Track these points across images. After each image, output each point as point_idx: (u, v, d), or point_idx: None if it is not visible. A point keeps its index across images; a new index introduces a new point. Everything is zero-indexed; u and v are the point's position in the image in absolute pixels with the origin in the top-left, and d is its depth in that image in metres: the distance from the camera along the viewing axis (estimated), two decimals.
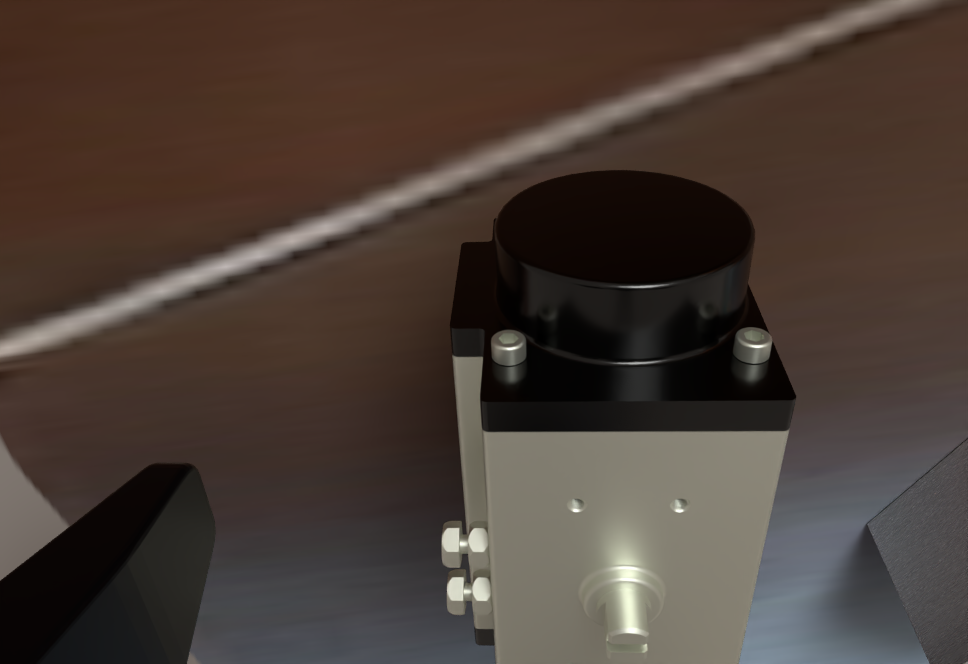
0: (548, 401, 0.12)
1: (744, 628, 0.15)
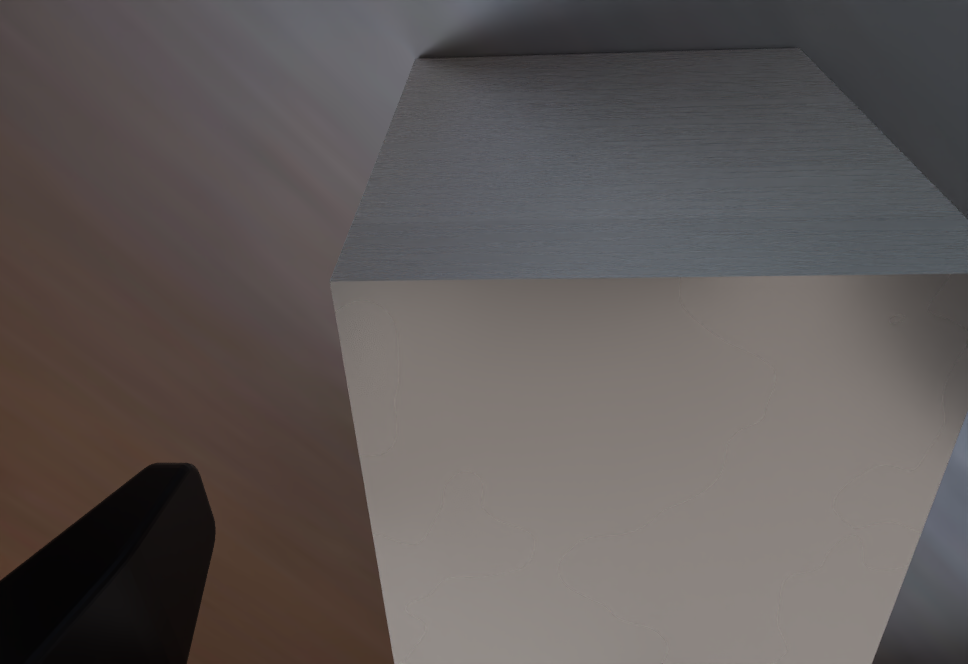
0: None
1: None
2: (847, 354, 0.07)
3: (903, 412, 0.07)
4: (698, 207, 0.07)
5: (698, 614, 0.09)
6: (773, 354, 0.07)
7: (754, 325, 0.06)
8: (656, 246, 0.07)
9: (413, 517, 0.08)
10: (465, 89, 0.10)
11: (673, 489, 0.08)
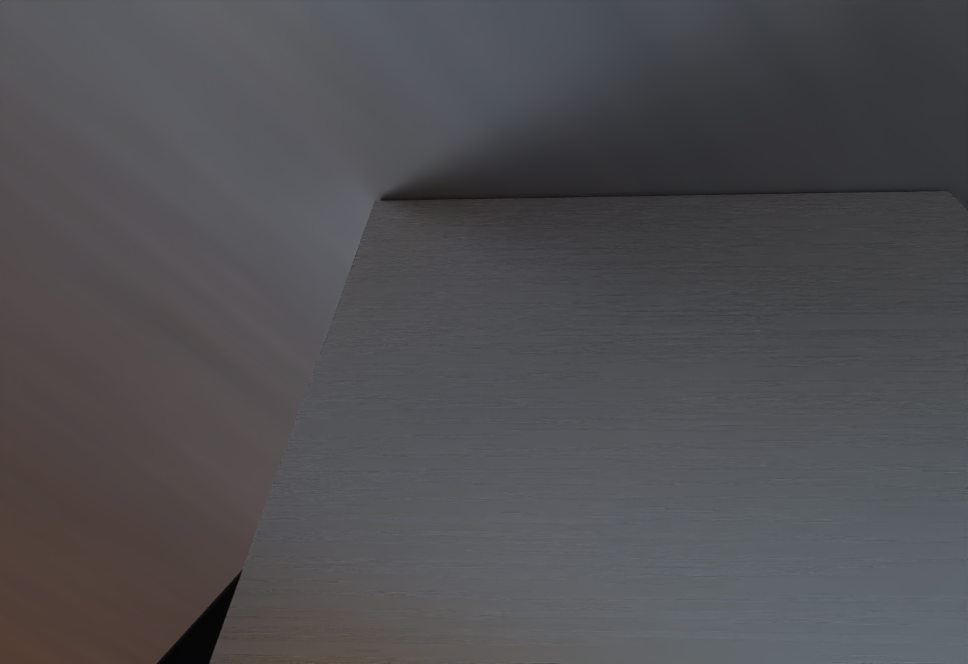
0: None
1: None
2: None
3: None
4: None
5: None
6: None
7: None
8: None
9: None
10: (444, 277, 0.06)
11: None
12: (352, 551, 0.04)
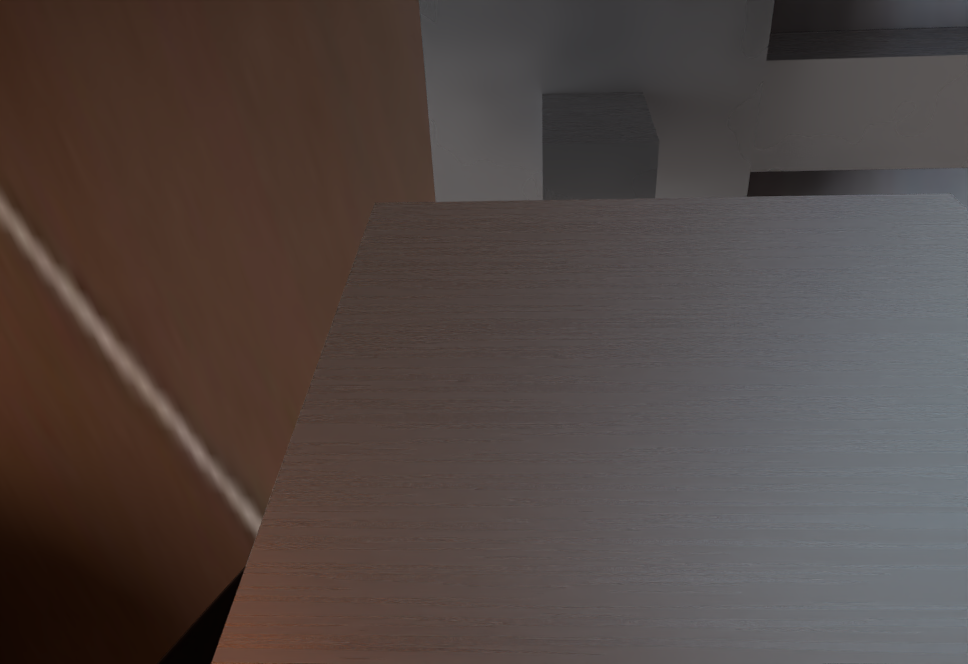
0: None
1: None
2: None
3: None
4: None
5: None
6: None
7: None
8: None
9: None
10: (445, 279, 0.06)
11: None
12: (352, 558, 0.04)
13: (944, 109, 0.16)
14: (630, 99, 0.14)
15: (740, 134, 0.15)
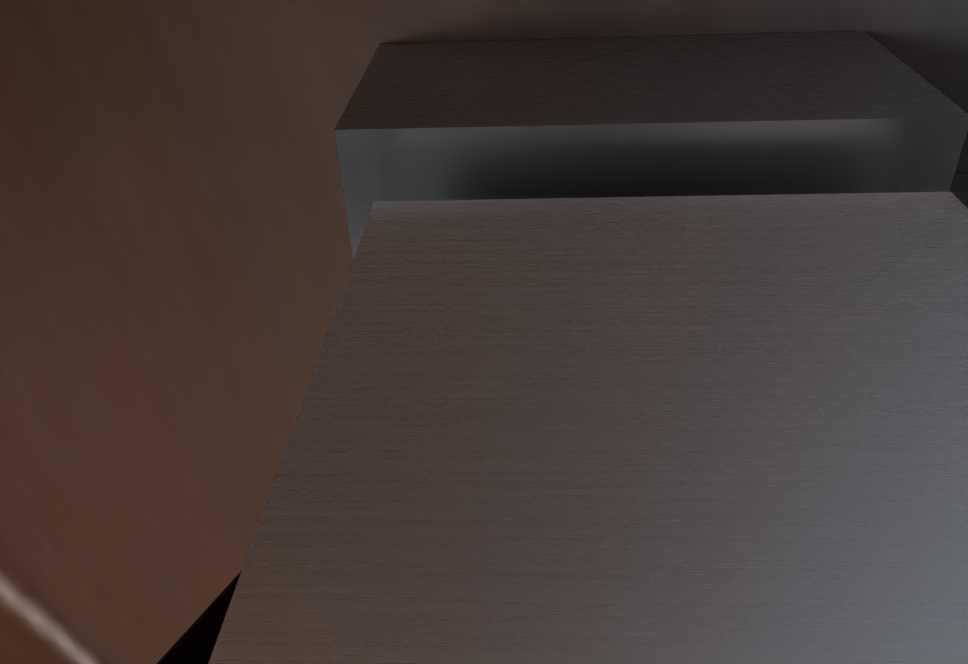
0: None
1: None
2: None
3: None
4: None
5: None
6: None
7: None
8: None
9: None
10: (444, 279, 0.06)
11: None
12: (351, 555, 0.04)
13: None
14: None
15: None
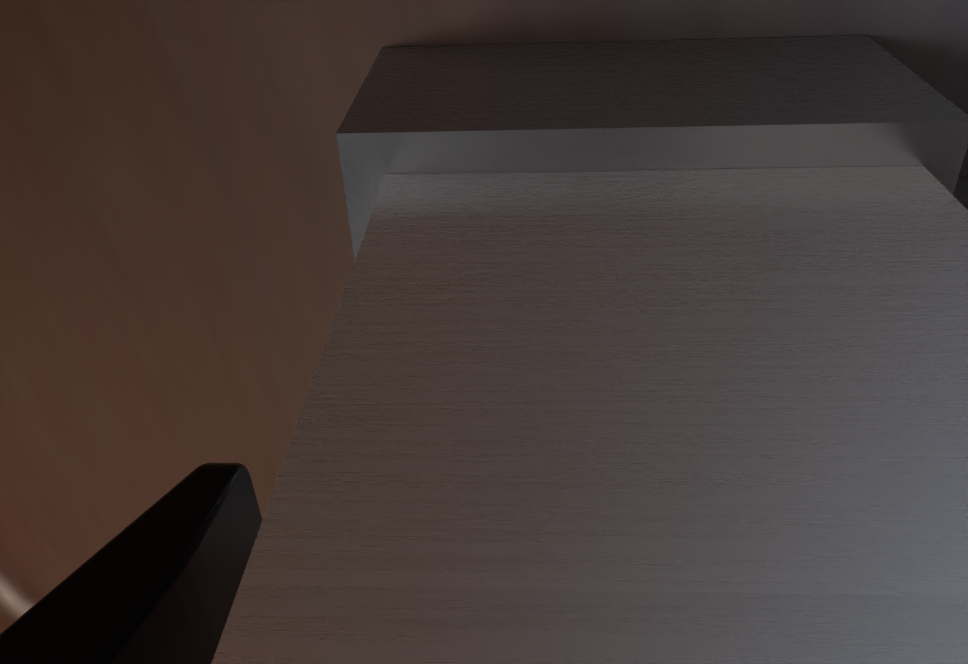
0: None
1: None
2: None
3: None
4: (855, 561, 0.04)
5: None
6: None
7: None
8: None
9: None
10: (453, 241, 0.07)
11: None
12: (373, 468, 0.05)
13: None
14: None
15: None
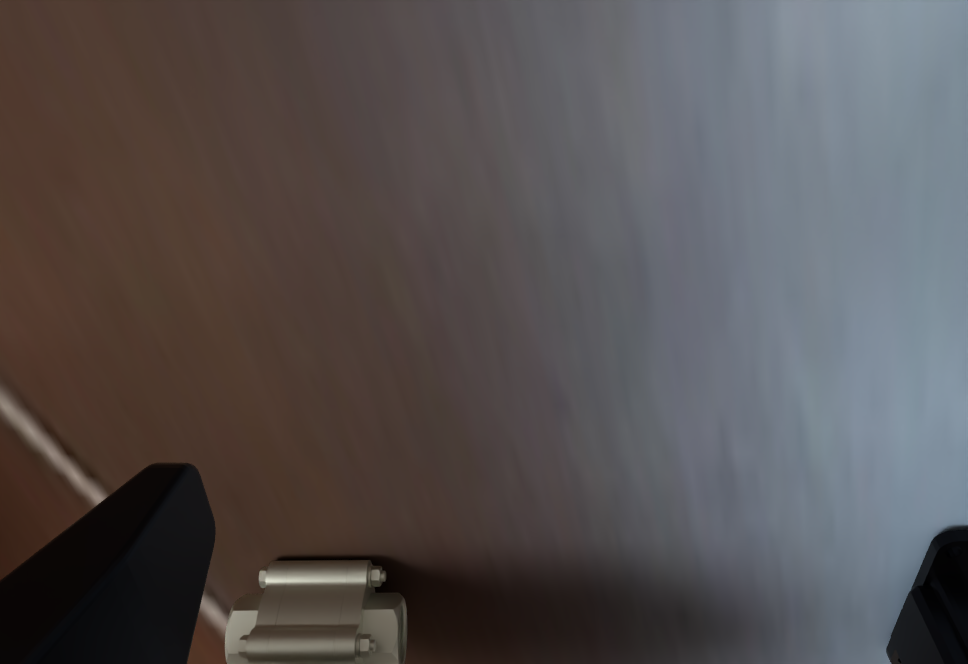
0: None
1: None
2: None
3: None
4: None
5: None
6: None
7: None
8: None
9: None
10: None
11: None
12: None
13: None
14: None
15: None
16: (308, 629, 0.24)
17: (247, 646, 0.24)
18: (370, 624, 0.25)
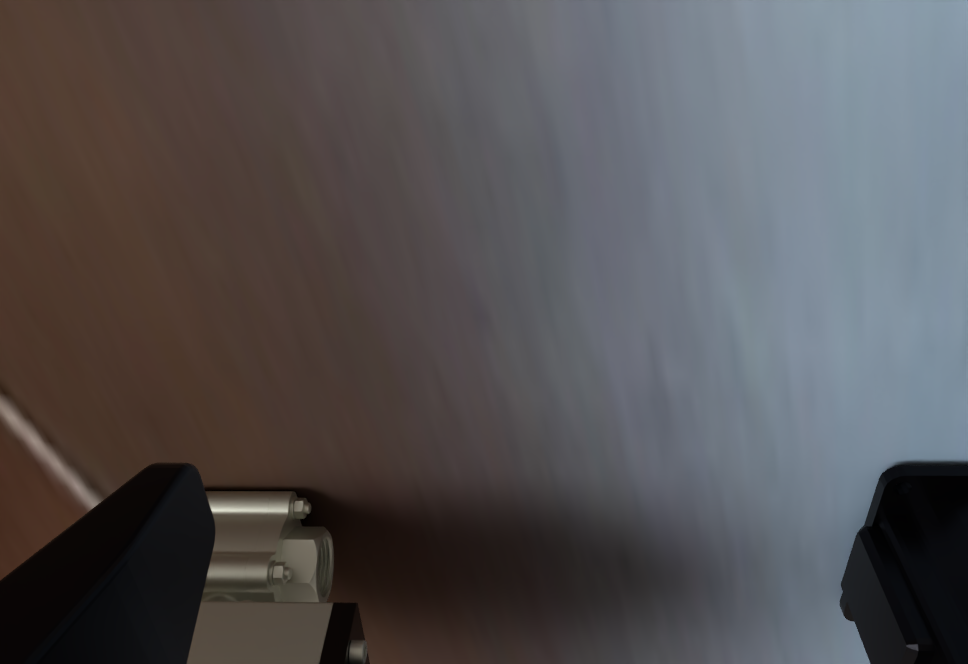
0: None
1: None
2: None
3: None
4: None
5: None
6: None
7: None
8: None
9: None
10: None
11: None
12: None
13: None
14: None
15: None
16: (221, 555, 0.23)
17: None
18: (290, 555, 0.24)
